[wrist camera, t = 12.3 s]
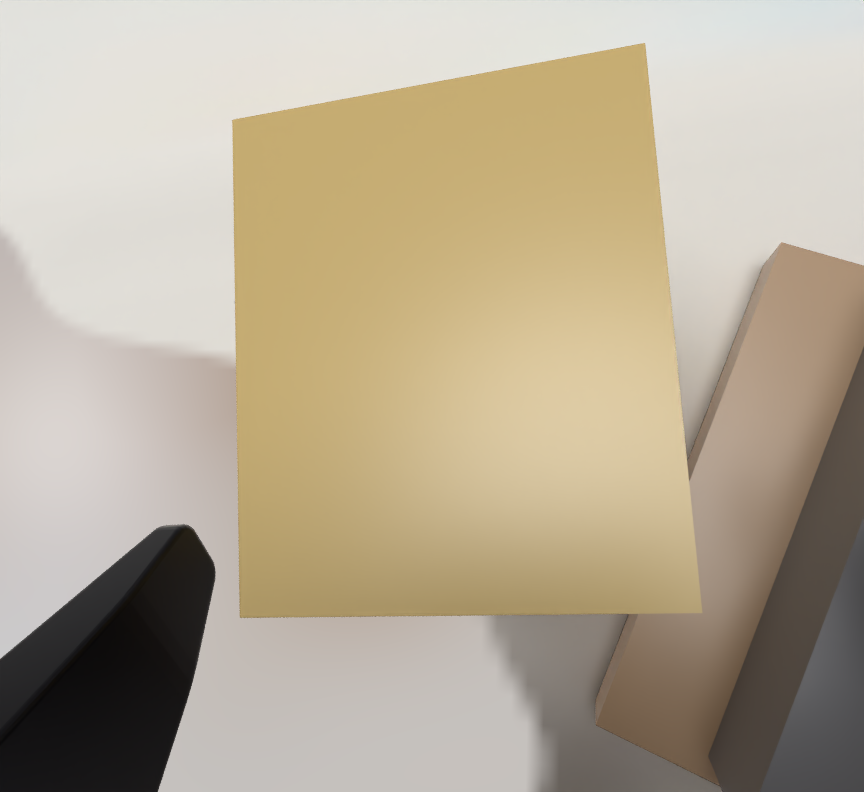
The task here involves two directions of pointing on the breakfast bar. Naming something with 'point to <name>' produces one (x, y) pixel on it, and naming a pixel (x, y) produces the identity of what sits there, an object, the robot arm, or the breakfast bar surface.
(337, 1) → the breakfast bar surface
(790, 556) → the panel
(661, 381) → the plug
